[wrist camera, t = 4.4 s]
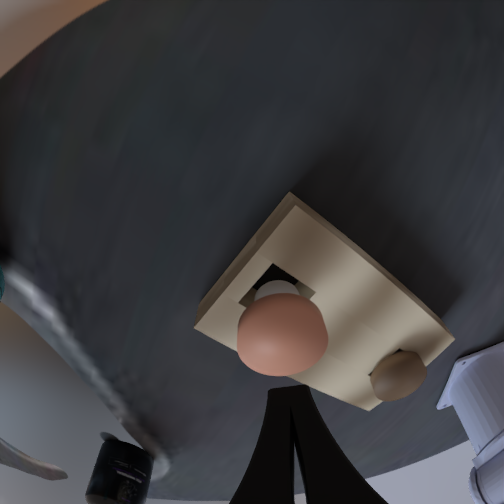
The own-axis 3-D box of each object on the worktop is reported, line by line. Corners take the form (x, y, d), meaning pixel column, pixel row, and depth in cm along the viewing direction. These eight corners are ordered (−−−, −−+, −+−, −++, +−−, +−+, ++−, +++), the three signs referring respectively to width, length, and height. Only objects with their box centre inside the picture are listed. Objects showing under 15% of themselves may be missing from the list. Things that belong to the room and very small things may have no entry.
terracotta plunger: (312, 261, 15) (328, 302, 12) (315, 323, 17) (328, 369, 14) (232, 271, 16) (228, 315, 12) (245, 332, 17) (245, 380, 14)
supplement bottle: (149, 444, 28) (130, 535, 18) (158, 467, 31) (145, 545, 21) (94, 432, 28) (68, 516, 17) (110, 457, 31) (90, 530, 20)
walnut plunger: (412, 324, 20) (432, 357, 17) (404, 361, 22) (420, 393, 19) (363, 335, 21) (378, 371, 17) (359, 371, 22) (371, 406, 19)
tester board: (441, 319, 21) (455, 339, 18) (361, 389, 24) (369, 410, 22) (289, 191, 17) (295, 205, 14) (199, 303, 20) (193, 327, 17)
